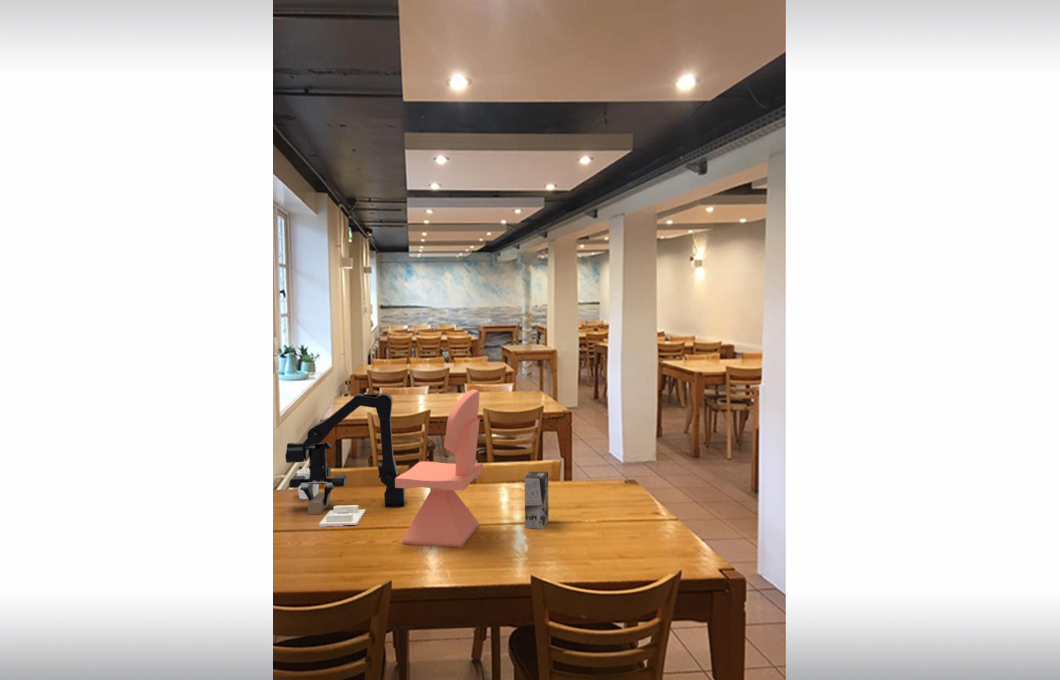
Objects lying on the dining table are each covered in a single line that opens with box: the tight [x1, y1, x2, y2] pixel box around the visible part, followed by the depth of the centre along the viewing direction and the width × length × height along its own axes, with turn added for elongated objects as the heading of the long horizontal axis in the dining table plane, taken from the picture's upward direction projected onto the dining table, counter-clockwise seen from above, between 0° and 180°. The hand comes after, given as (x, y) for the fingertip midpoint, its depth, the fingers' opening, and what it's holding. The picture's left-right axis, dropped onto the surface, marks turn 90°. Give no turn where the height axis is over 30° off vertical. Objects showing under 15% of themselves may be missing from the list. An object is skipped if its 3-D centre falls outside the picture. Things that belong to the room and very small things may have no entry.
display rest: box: [318, 504, 366, 528], centre depth 219 cm, size 12×14×3 cm
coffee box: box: [524, 471, 550, 530], centre depth 212 cm, size 9×6×16 cm
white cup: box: [296, 467, 320, 500], centre depth 245 cm, size 8×8×10 cm
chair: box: [395, 388, 484, 549], centre depth 202 cm, size 27×22×45 cm
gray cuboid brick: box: [307, 492, 331, 515], centre depth 230 cm, size 12×4×4 cm, turn 1°
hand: (319, 505), depth 231 cm, fingers closed on gray cuboid brick, 4 cm apart
